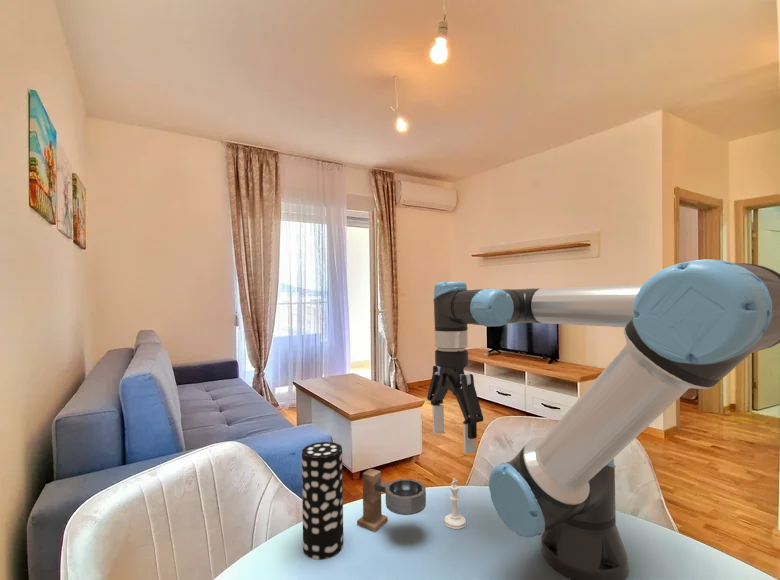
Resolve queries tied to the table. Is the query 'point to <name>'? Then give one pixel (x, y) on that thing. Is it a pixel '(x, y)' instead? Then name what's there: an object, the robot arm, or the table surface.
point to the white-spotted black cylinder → (322, 500)
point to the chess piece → (454, 510)
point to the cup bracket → (403, 496)
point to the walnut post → (371, 502)
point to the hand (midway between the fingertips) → (453, 441)
